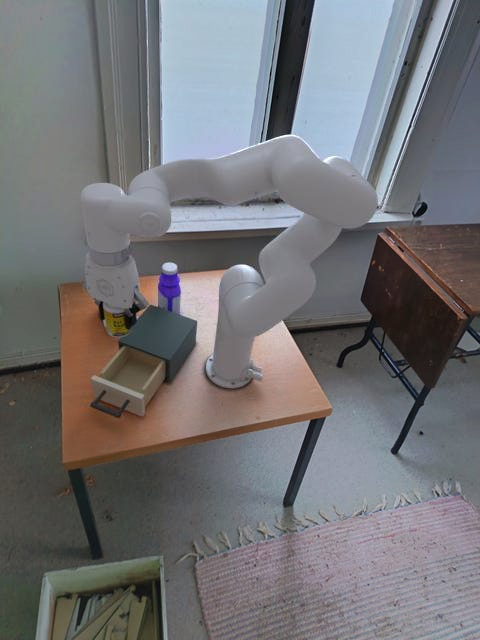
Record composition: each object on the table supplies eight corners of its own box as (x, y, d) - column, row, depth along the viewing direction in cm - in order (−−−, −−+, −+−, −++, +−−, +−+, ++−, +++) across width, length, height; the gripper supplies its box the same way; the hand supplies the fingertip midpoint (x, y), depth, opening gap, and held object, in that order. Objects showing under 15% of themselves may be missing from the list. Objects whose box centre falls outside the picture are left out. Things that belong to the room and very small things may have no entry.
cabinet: (169, 383, 102) (169, 360, 96) (120, 364, 104) (117, 340, 98) (195, 343, 113) (197, 320, 107) (150, 327, 115) (150, 304, 110)
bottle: (183, 319, 120) (185, 271, 108) (165, 325, 117) (166, 276, 105) (172, 304, 124) (173, 256, 112) (154, 310, 121) (153, 261, 109)
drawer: (131, 433, 89) (129, 416, 84) (81, 412, 91) (76, 394, 87) (172, 373, 103) (172, 354, 98) (127, 356, 105) (126, 337, 101)
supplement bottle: (113, 342, 88) (108, 306, 81) (102, 327, 91) (96, 291, 84) (137, 333, 91) (134, 297, 84) (125, 318, 94) (121, 283, 87)
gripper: (58, 247, 76) (74, 318, 88) (139, 274, 72) (144, 344, 84) (83, 229, 81) (95, 299, 93) (160, 254, 78) (162, 323, 90)
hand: (118, 320), depth 89 cm, fingers closed on supplement bottle, 5 cm apart
